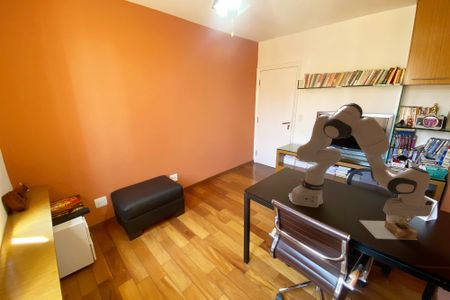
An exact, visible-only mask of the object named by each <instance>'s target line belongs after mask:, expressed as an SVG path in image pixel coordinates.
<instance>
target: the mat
mask: <svg viewBox="0 0 450 300" xmlns="http://www.w3.org/2000/svg"><path fill="white" fill-rule="evenodd" d="M359 222H360V223H361V224H362V225H363V226H364V227H365V228H366V229H367V230H368V231H369V233H370V234H371V235H372V236H373V237H374V238H375V239H381V240H399V239H398V238H396V237H395V236H394V235H393V234H392V233H391V232H390V231H389V230H388V229H386V228H385V227H384V225H385V222H386V220H361V219H359ZM403 240H408V241H409V240H410V241H412V240H413V241H418V239H417V238H416V239H403Z"/></svg>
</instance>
